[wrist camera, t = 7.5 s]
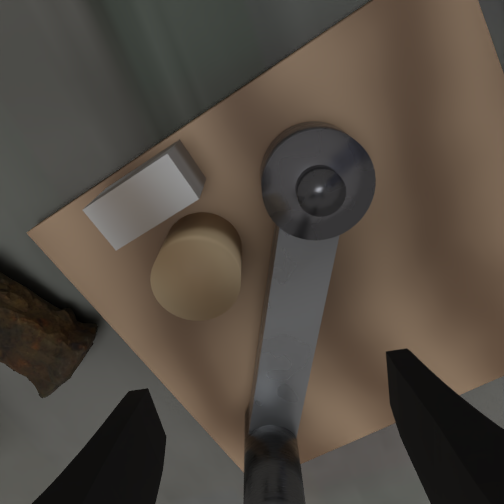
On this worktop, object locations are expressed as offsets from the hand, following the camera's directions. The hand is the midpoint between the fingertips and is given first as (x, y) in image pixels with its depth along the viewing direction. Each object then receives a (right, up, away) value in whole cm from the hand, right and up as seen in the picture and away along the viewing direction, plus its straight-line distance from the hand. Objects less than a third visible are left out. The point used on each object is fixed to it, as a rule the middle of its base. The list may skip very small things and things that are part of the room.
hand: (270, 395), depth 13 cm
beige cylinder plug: (-3, +5, +7) cm, 9 cm away
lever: (+1, +2, +8) cm, 9 cm away
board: (+3, +3, +9) cm, 10 cm away
